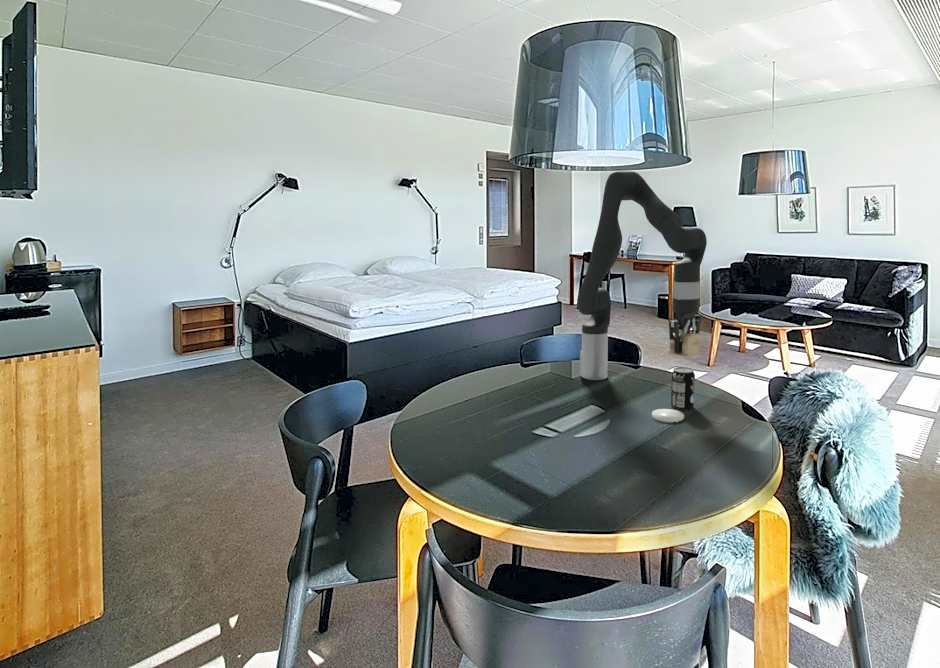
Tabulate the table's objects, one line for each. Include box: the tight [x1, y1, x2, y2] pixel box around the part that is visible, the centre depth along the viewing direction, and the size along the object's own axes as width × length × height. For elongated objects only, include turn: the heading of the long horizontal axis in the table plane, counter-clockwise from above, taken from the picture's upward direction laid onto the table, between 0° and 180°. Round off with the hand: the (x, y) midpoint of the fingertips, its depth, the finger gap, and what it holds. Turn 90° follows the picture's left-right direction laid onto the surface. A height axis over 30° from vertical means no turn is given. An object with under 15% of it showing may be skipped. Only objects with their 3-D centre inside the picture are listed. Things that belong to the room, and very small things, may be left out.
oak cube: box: [669, 332, 700, 358], centre depth 167 cm, size 6×6×6 cm
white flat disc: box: [651, 408, 685, 424], centre depth 163 cm, size 9×9×1 cm
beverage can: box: [670, 366, 696, 410], centre depth 170 cm, size 7×7×12 cm
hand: (684, 351), depth 168 cm, fingers closed on oak cube, 6 cm apart
